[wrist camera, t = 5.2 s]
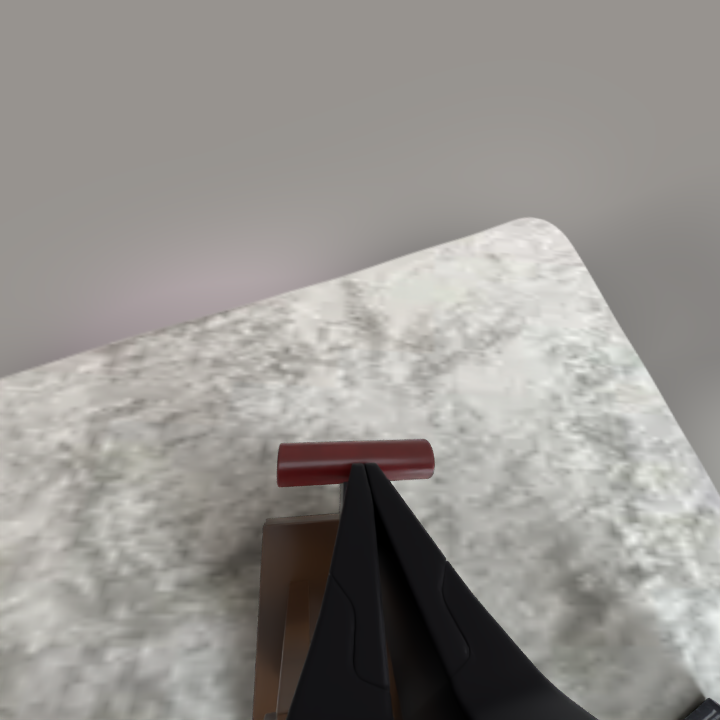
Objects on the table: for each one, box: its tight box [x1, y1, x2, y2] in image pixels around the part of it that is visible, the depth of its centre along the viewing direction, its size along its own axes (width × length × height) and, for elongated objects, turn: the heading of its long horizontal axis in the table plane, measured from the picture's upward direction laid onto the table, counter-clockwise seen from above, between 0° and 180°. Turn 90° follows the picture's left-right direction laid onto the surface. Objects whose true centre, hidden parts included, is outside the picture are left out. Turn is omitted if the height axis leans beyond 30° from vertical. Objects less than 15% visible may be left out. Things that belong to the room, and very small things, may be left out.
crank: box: [277, 439, 435, 719], centre depth 10 cm, size 11×6×2 cm, turn 1°
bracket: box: [252, 513, 403, 720], centre depth 12 cm, size 10×8×8 cm
